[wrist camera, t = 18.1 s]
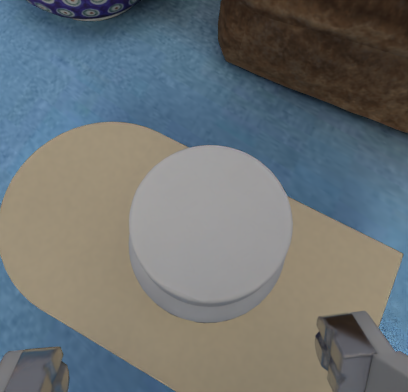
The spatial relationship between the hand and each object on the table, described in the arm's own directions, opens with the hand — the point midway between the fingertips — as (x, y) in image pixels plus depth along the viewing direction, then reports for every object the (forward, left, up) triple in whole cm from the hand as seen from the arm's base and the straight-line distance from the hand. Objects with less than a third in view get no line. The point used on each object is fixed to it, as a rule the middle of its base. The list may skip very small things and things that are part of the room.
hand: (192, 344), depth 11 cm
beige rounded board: (+3, +2, -12) cm, 13 cm away
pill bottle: (+3, +1, -8) cm, 8 cm away
